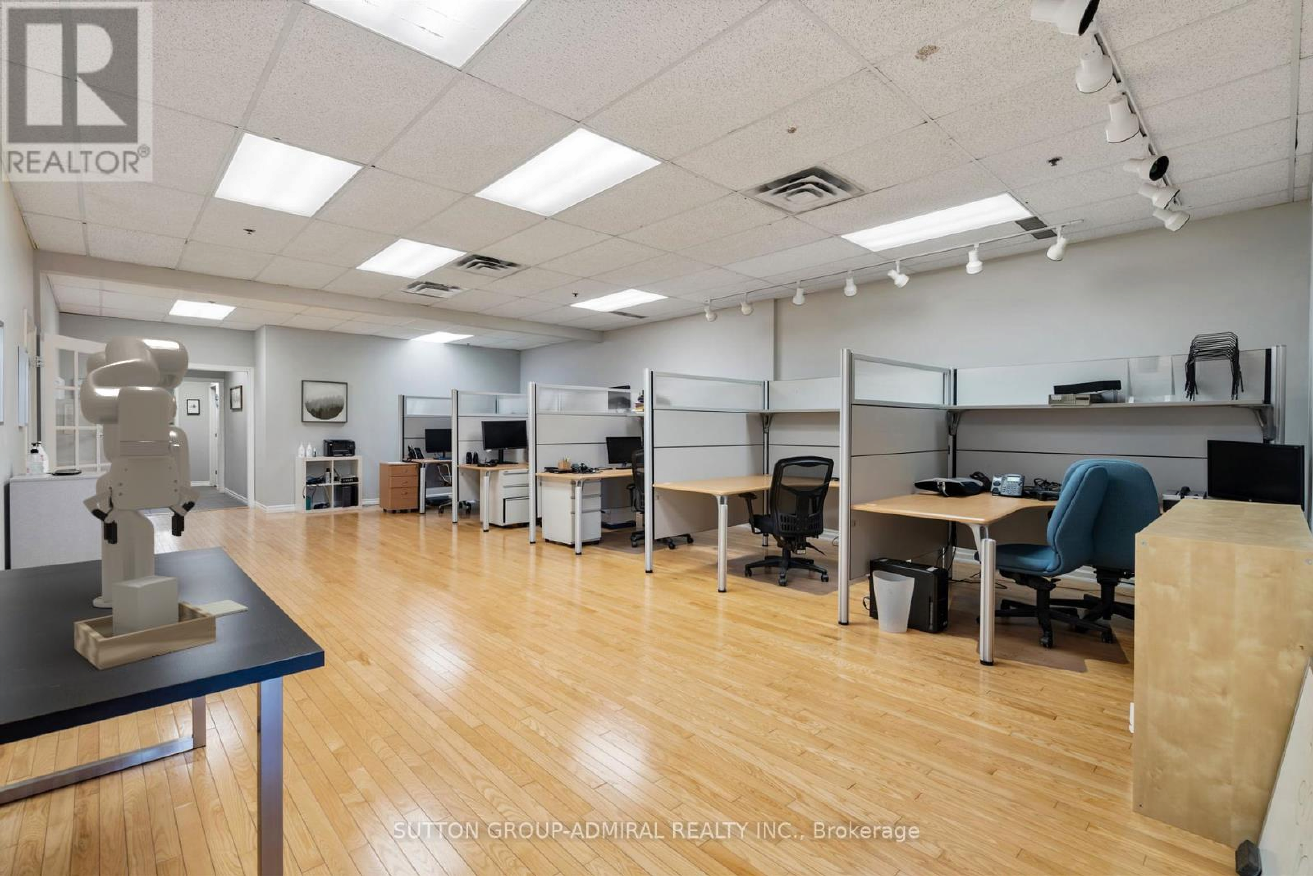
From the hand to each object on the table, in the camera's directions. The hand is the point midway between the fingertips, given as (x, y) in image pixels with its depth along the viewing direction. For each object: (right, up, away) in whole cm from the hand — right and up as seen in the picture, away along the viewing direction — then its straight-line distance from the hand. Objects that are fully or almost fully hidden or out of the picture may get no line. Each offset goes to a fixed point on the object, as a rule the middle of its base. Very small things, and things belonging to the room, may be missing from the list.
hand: (145, 539), depth 114 cm
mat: (-3, -20, +21) cm, 29 cm away
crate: (0, -21, +1) cm, 21 cm away
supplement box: (0, -21, +1) cm, 21 cm away
